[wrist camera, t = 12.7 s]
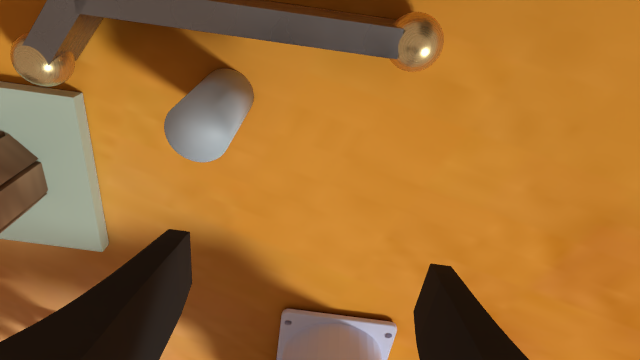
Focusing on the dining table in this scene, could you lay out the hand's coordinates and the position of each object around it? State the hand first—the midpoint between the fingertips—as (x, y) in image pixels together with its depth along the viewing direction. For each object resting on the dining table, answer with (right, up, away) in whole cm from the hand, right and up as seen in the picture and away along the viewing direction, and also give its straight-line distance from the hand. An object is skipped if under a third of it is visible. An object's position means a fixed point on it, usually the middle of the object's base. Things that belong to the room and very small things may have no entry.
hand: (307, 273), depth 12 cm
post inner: (-4, +7, +8) cm, 12 cm away
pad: (-17, +4, +11) cm, 21 cm away
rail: (-4, +9, +7) cm, 12 cm away
